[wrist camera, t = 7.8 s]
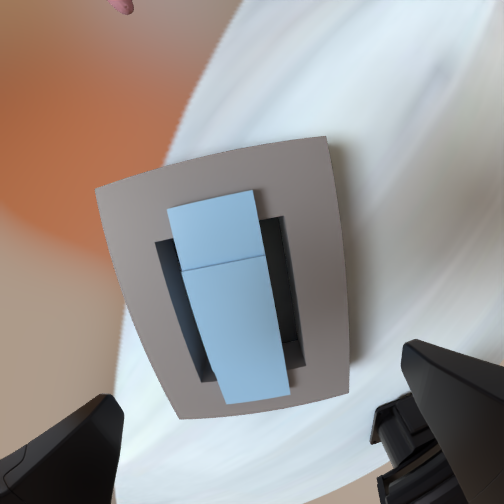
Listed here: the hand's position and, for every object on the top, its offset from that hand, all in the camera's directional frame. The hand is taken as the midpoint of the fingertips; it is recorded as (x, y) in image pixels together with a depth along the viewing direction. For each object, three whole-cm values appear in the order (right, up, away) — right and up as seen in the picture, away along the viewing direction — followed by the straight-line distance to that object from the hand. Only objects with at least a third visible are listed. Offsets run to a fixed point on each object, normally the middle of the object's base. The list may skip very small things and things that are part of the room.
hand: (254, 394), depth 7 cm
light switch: (-1, +2, +10) cm, 10 cm away
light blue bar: (-1, +2, +10) cm, 10 cm away
